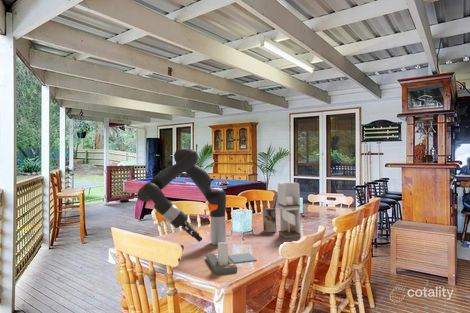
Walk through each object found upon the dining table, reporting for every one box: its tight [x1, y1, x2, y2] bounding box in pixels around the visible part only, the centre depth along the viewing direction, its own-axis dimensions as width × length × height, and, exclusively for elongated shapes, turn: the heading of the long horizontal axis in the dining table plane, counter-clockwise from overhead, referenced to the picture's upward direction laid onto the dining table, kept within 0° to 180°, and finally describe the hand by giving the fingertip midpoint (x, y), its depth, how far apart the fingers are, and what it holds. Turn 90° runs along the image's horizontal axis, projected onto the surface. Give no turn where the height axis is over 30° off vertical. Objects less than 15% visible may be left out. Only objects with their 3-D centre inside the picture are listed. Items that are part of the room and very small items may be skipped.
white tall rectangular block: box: [217, 242, 229, 266], centre depth 156 cm, size 4×4×12 cm
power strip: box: [205, 252, 238, 275], centre depth 163 cm, size 28×10×3 cm, turn 16°
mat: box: [228, 252, 257, 264], centre depth 170 cm, size 12×12×1 cm
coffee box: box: [262, 207, 277, 233], centre depth 230 cm, size 9×6×16 cm
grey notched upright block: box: [277, 181, 302, 238], centre depth 217 cm, size 11×11×35 cm
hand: (199, 238), depth 153 cm, fingers open, 8 cm apart
